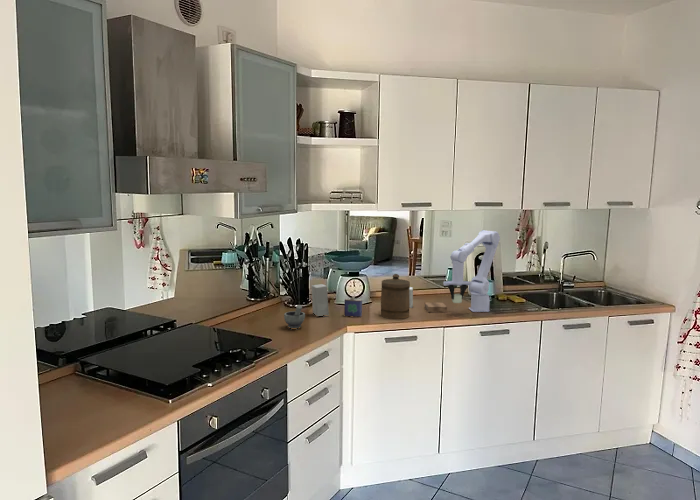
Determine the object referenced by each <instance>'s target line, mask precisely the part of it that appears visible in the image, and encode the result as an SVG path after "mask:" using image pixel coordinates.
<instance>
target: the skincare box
mask: <svg viewBox="0 0 700 500" xmlns="http://www.w3.org/2000/svg"><path fill="white" fill-rule="evenodd" d="M328 296H329V295H328V286H327V285H326V284H323V283H319V284H311V302H312V314H313V313H314V314H315V315H317V316H323V315H329V313H330V312H329V299H328V298H329V297H328ZM314 314H313V315H314ZM315 315H314V316H315ZM317 316H316V317H317ZM329 316H330V315H329ZM323 317H324V316H323Z"/></svg>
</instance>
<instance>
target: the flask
mask: <svg viewBox="0 0 700 500" xmlns="http://www.w3.org/2000/svg"><path fill="white" fill-rule="evenodd" d="M355 298H356V296H355V295H353V296H351V297H347V298H344V313H343V314H344V315H345V316H344V317H346V316H353V317H352V318H362V317H363V300H362V299H355Z"/></svg>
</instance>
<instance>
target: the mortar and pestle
mask: <svg viewBox="0 0 700 500" xmlns="http://www.w3.org/2000/svg"><path fill="white" fill-rule="evenodd" d="M302 309H303V306H302V305H301V304H298V305H296V309H295V310H292V311H287V312H285V313H283V315H284V316H283V317H284V321H285V323H286V324H287V328H288V327H290V328H299V327H301V328H302V324H303V323H304V321H305V318H306V313H305V312H303V311H302Z"/></svg>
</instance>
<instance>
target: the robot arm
mask: <svg viewBox="0 0 700 500" xmlns="http://www.w3.org/2000/svg"><path fill="white" fill-rule="evenodd" d="M500 240H501V236H500V234H499V232H498V231H496V230H486V229H485V230H484V229H482V230H480V231H479V232H478V234H477V236H476V237H474V239H473V240H471V242H465V243H464V244H463V245H462V246H461V247H459V248H458V249H457V250H456V249H455V250H453V251H452V252H451V254H450V260H451V264H452V272H451V273H452V278H451V280H449V281H448V280H447V281H445V280H444V281H443V286H445V287H446V286H447V287H448V290H449V294H450V297H451V300H452V299H454V294H455V290H456V289H455V286H459V289H460V290H459V294H461V295H462V300H463V299H464V294H465V292H466V291H467V288H468V291H469V292H470V296H471V297H470V299H471V300H470V307H468V309H469V310H470V311H471V312H474V313H477V312H478V313H481V312H483V313H484V312H485V313H487V312H490V303H491V302H490V295H489V294H488V292H489V288H490V281H489V280H488V276H489V272H490V270H491V267H492V263H493V261H494V257H495V256H496V255H495V254H496V251H497V248H498V246H499V244H500V243H499V242H500ZM481 244H482V245H483V246H484V248H485V251H484V253H483V255H482V260H481V263H480V266H479V267H478V272H477V274H476V275H475V276H473V277H472V278H471V281H468V280H467V281H466V280H464V271H465V270H464V269H465V268H464V267H465V266H464V265H465V262H466V261H467V258H468V256H470V255H471V254H472V253H473V252H474V251H475V248H476V247H478V246H479V245H481Z"/></svg>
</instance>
